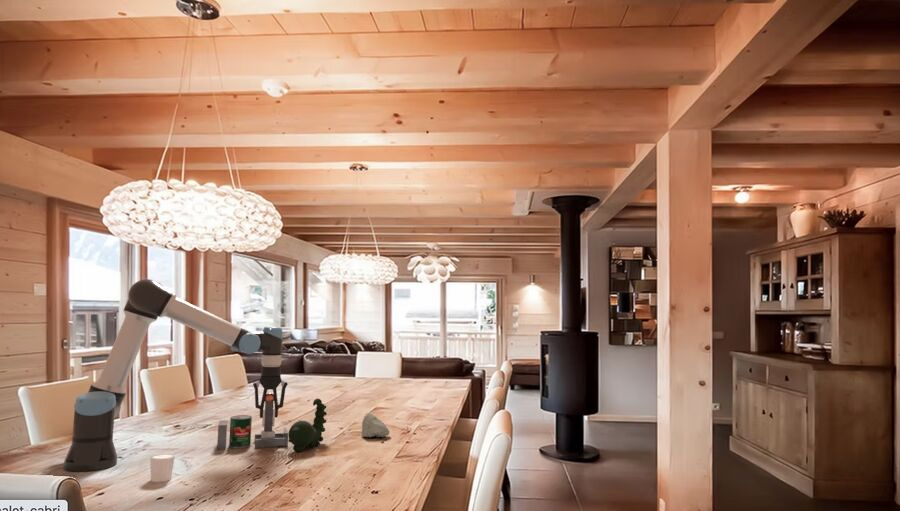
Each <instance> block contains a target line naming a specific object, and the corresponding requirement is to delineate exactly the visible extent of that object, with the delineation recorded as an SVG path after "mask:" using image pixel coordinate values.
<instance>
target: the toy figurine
mask: <svg viewBox="0 0 900 511" xmlns="http://www.w3.org/2000/svg"><path fill="white" fill-rule="evenodd" d="M312 405H313V406H315V408H316V409H315V412H314V413H315V414H314V416H315V417H314V418H313V424H311V423H310V422H308V421H307V420H298V421H296V422H294V423H293V424H292V425H291V426H290V428H289V430H288V443H291V444H292V446H293V447H292V448H293V451H294V452H296V453H303V451H304V450H305V449H306V447H310V448H311V449H313V448H315V447H319V446H320V444H321V442H323V441H324V437H323V436H322V435H323V434H322V433H324V432H326V428H325V426H324V424H327V419H325V416H327V414H328V413H327V412H326V411H325V410H326V409H327V406H326V405H325V404H324V403H323V402H322V400H321V398H315V399H314V400H313V403H312ZM315 445H316V446H315ZM318 445H319V446H318Z"/></svg>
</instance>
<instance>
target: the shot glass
mask: <svg viewBox="0 0 900 511" xmlns="http://www.w3.org/2000/svg"><path fill="white" fill-rule="evenodd" d="M175 456H176V455H174V454H172V453H161V454H155V455H151V456H150V458H149V460H150V462H149V464H150V482H153V483H163V482H168V481H170V480H171V479H172V477H173V476H172V475H173V468H174V463H175Z"/></svg>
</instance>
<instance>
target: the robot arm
mask: <svg viewBox="0 0 900 511" xmlns="http://www.w3.org/2000/svg"><path fill="white" fill-rule="evenodd" d="M127 298H128V299H127V302H126V304H125V306H124V307H123V310H122V311H123V313H124V315H125V317H124V320H123V322H122V324H121V327H120V329H119V331H118V333H117V336H116V338H115V341H114V343H113V345H112V348H111V349H110V352H109V355H108V356H107V359H106V361H105V364H104V366H103V368H102V371H101V373H100V375H99V378H98V380H96V381H94V382H91V384H90V386H89V388H88V391H87V392H86V393H82V394H80V395H78V396H77V397H76V398H75V402H74V406H73V408H74V412H73V413H74V415H73V423H72V424H73V425H72V426H73V427H72V437H71V439H72V440H71V445H70V446H69V449H68V452H67V454H66V456H65V458H64V461H63V470H64V471H67V472H68V471H70V472H90V471H98V470H103V469H107V468H111V467H113V466H115V465H116V464H117V463H118V455H117V450H116V448H115V447H116V446H115V444H114V439H113V438H114V426H115V419H116V418H117V416H118V415H119V413H120V411H121V409H122V404H123V402H124V400H125V396H126V394H127V390H126V388H125V385H126V382H127V381H128V378H129V375H130V373H131V371H132V368H133V365H134V363H135V361H136V359H137V355H138V354H139V352H140V349H141V346H142V344H143V343H144V342H143V341H144V340H145V337H146V335H147V332H148V329H149V328H150V325H151V324H152V323H154V322H156V321H157V320H158V317H159V318H163V317H165V318H166V317H167V318H168V319H170V320H173V321H174V322H177V323H179V324H182V325H184V326H186V327H188V328H190V329H193V330H195V331H197V332H199V333H201V334H203V335H205V336H207V337H210V338H213V340H217V341H218V342H221V343H224V344H226V345H228V346H229V347H230V350H231V351H232V352H242V353H244V354H245V355H251V354H254V353H256V352H261V370H260V378H259V380H258V381H256V382H253V384H252V386H253V388H254V402H255V403H254V406H255V408H256V409H259V419H262V421H261V422H262V423H261V428H262V427H263V428H264V424H265V399H266V394H268V391H269V390H272V394H274V401H273V402H274V403H273V405H274V408H273V424H272V428H274V427H275V420H276V419H275V418H278V416H279V409H280V408H283V407H284V403H285V402H284V401H285V395H286V394H285V393H286V388H287V386H288V381H284V380H283V379H282V378H281V375H282V374H281V372H282V367H281V365H282V354H283V353H282V352H283V351H282V350H283V338H284V337H283V328H282V327H280V326H264V327H263V330H262V331H248V330H247V329H245V328H242V327H240V326H239V325H237V324H234V323H232V322H229V321H228V320H226V319H224V318H222V317H219V316H217V315H215V314H213V313H211V312H209V311H207V310H204V309H202V308H200V307H198V306H197V305H194V304H191V303H190V302H187V301H185V300H183V299H181V298H179V297H177V295H176V292H173V291H171V290H170V289H167V288H165V287H164V286H163V285H162V284H161V283H160V282H158V281H156V280H153V279H148V278H147V279H145V278H144V279H141V280H138V281H136V282H134V283H133V284H132V285H131V286H130V288H129V291H128V297H127ZM280 384H281V385H280ZM260 385H261V387H262V388H263V392H262V396H261V401H260V402H259V387H260ZM279 386H281V392H280V400H278V392H277V388H278V387H279ZM278 401H279V402H278ZM117 465H118V464H117Z"/></svg>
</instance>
